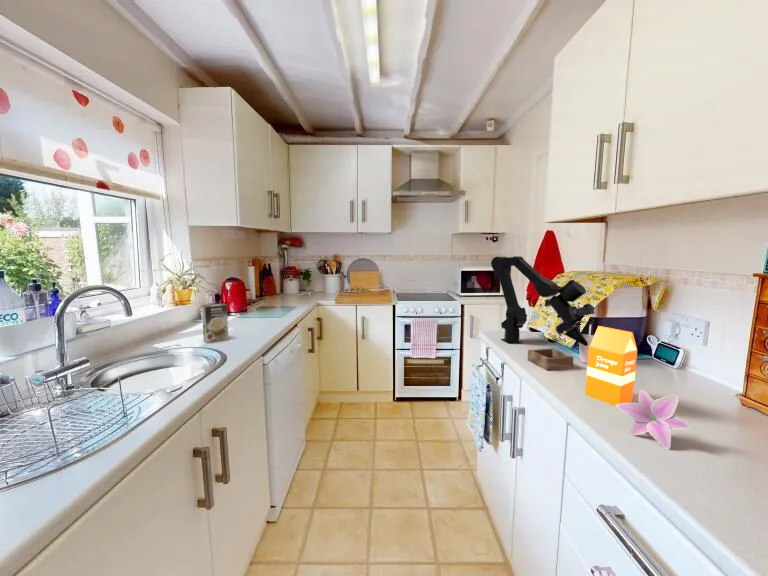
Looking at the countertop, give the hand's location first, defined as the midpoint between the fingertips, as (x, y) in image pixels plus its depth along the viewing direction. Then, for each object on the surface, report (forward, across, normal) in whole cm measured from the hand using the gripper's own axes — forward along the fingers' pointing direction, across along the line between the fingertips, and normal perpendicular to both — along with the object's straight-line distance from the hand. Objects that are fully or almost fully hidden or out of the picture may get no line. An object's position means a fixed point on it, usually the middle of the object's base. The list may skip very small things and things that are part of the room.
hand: (591, 343), depth 121 cm
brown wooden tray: (0, -14, +10) cm, 17 cm away
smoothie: (+4, 0, +6) cm, 7 cm away
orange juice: (+17, -26, -7) cm, 32 cm away
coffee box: (-69, -112, +82) cm, 155 cm away
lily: (+27, -39, -17) cm, 50 cm away
